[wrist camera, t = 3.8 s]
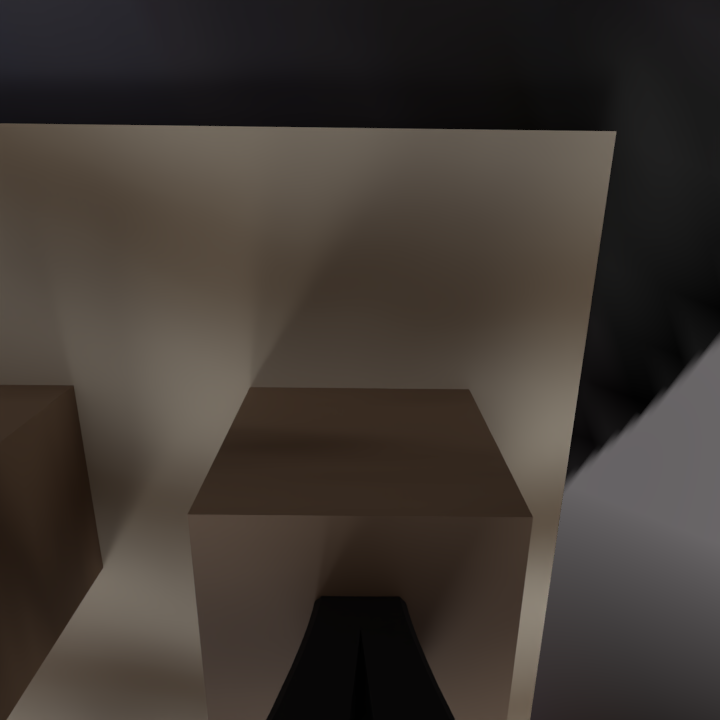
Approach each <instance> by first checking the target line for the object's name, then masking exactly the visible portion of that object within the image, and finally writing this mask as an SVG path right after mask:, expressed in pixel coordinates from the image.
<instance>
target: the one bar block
mask: <svg viewBox="0 0 720 720" xmlns="http://www.w3.org/2000/svg"><path fill="white" fill-rule="evenodd" d="M102 569H103V563H102V556H101V550H100V544H99V538H98V532H97V526H96V520H95V513H94V507H93V501H92V495H91V489H90V483H89V477H88V470H87V464H86V458H85V452H84V446H83V440H82V434H81V427H80V421H79V415H78V409H77V403H76V397H75V391H74V385H0V720H7V718H8V717H9V715H10V714H11V712H12V711H13V709H14V707H15V706H16V704H17V703H18V701H19V700H20V698H21V696H22V695H23V693H24V692H25V690H26V688H27V687H28V685H29V684H30V682H31V681H32V679H33V677H34V676H35V674H36V673H37V671H38V670H39V668H40V666H41V665H42V663H43V662H44V660H45V659H46V657H47V655H48V654H49V652H50V651H51V649H52V648H53V646H54V644H55V643H56V641H57V640H58V638H59V637H60V635H61V633H62V632H63V630H64V629H65V627H66V625H67V624H68V622H69V621H70V619H71V618H72V616H73V614H74V613H75V611H76V610H77V608H78V607H79V605H80V603H81V602H82V600H83V599H84V597H85V596H86V594H87V592H88V591H89V589H90V588H91V586H92V585H93V583H94V581H95V580H96V578H97V577H98V575H99V574H100V572H101V570H102Z"/></svg>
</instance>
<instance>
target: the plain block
mask: <svg viewBox="0 0 720 720" xmlns="http://www.w3.org/2000/svg"><path fill="white" fill-rule="evenodd" d="M187 515H188V525H189V535H190V545H191V555H192V565H193V575H194V585H195V594H196V604H197V614H198V624H199V634H200V644H201V654H202V664H203V674H204V684H205V694H206V704H207V714H208V720H266V719H267V717H268V715H269V713H270V711H271V709H272V707H273V705H274V702H275V700H276V698H277V696H278V694H279V692H280V690H281V688H282V685H283V683H284V681H285V679H286V677H287V675H288V673H289V670H290V668H291V666H292V664H293V661H294V659H295V656H296V654H297V652H298V649H299V647H300V644H301V642H302V639H303V637H304V634H305V631H306V628H307V626H308V623H309V620H310V616H311V613H312V610H313V606H314V602H315V601H316V600H317V599H319V598H320V597H321V596H400V597H401V598H402V599H403V600H404V601H405V602H406V605H407V608H408V611H409V615H410V618H411V621H412V624H413V626H414V629H415V632H416V635H417V637H418V640H419V642H420V645H421V647H422V650H423V652H424V654H425V657H426V659H427V661H428V664H429V666H430V668H431V671H432V673H433V675H434V677H435V679H436V681H437V684H438V686H439V688H440V690H441V692H442V694H443V696H444V698H445V700H446V702H447V704H448V706H449V708H450V710H451V712H452V714H453V716H454V718H455V720H507V716H508V709H509V701H510V693H511V685H512V678H513V670H514V662H515V654H516V646H517V639H518V631H519V623H520V615H521V608H522V600H523V592H524V584H525V577H526V569H527V561H528V553H529V546H530V538H531V530H532V522H533V516H532V514H531V512H530V510H529V508H528V506H527V504H526V502H525V500H524V498H523V496H522V494H521V492H520V490H519V488H518V486H517V484H516V482H515V480H514V478H513V476H512V474H511V472H510V470H509V468H508V466H507V464H506V462H505V460H504V458H503V456H502V454H501V452H500V450H499V448H498V446H497V444H496V442H495V440H494V438H493V436H492V434H491V432H490V430H489V428H488V426H487V424H486V422H485V420H484V418H483V416H482V414H481V412H480V410H479V408H478V406H477V404H476V402H475V400H474V398H473V396H472V394H471V392H470V390H469V389H388V388H286V387H250V388H249V390H248V392H247V394H246V396H245V398H244V400H243V402H242V404H241V406H240V408H239V410H238V412H237V414H236V416H235V419H234V421H233V423H232V425H231V427H230V429H229V431H228V433H227V435H226V437H225V439H224V441H223V443H222V445H221V447H220V449H219V451H218V453H217V455H216V457H215V459H214V461H213V463H212V465H211V467H210V470H209V472H208V474H207V476H206V478H205V480H204V482H203V484H202V486H201V488H200V490H199V492H198V494H197V496H196V498H195V500H194V502H193V504H192V506H191V508H190V510H189V512H188V514H187Z"/></svg>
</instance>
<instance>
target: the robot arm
mask: <svg viewBox="0 0 720 720" xmlns="http://www.w3.org/2000/svg"><path fill="white" fill-rule="evenodd" d="M266 720H455V718H454V716H453V714H452V712H451V710H450V708H449V706H448V704H447V702H446V700H445V698H444V696H443V694H442V692H441V690H440V688H439V686H438V684H437V681H436V679H435V677H434V675H433V673H432V671H431V668H430V666H429V664H428V661H427V659H426V657H425V654H424V652H423V650H422V647H421V645H420V642H419V640H418V637H417V635H416V632H415V629H414V626H413V624H412V621H411V618H410V615H409V611H408V608H407V605H406V602H405V601H404V600H403V599H402V598H401V597H400V596H321V597H320V598H319V599H317V600H316V601H315V602H314V606H313V610H312V613H311V616H310V620H309V623H308V626H307V628H306V631H305V634H304V637H303V639H302V642H301V644H300V647H299V649H298V652H297V654H296V656H295V659H294V661H293V664H292V666H291V668H290V670H289V673H288V675H287V677H286V679H285V681H284V683H283V685H282V688H281V690H280V692H279V694H278V696H277V698H276V700H275V702H274V705H273V707H272V709H271V711H270V713H269V715H268V717H267V719H266Z"/></svg>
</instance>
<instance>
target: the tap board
mask: <svg viewBox="0 0 720 720" xmlns="http://www.w3.org/2000/svg"><path fill="white" fill-rule="evenodd" d="M615 137H616V131H552V130H474V129H397V128H319V127H242V126H164V125H86V124H9V123H0V385H74V391H75V397H76V403H77V409H78V415H79V421H80V427H81V434H82V440H83V446H84V452H85V458H86V464H87V470H88V477H89V483H90V489H91V495H92V501H93V507H94V513H95V520H96V526H97V532H98V538H99V544H100V550H101V556H102V563H103V569H102V570H101V572H100V574H99V575H98V577H97V578H96V580H95V581H94V583H93V585H92V586H91V588H90V589H89V591H88V592H87V594H86V596H85V597H84V599H83V600H82V602H81V603H80V605H79V607H78V608H77V610H76V611H75V613H74V614H73V616H72V618H71V619H70V621H69V622H68V624H67V625H66V627H65V629H64V630H63V632H62V633H61V635H60V637H59V638H58V640H57V641H56V643H55V644H54V646H53V648H52V649H51V651H50V652H49V654H48V655H47V657H46V659H45V660H44V662H43V663H42V665H41V666H40V668H39V670H38V671H37V673H36V674H35V676H34V677H33V679H32V681H31V682H30V684H29V685H28V687H27V688H26V690H25V692H24V693H23V695H22V696H21V698H20V700H19V701H18V703H17V704H16V706H15V707H14V709H13V711H12V712H11V714H10V715H9V717H8V718H7V720H208V714H207V704H206V694H205V684H204V674H203V664H202V654H201V644H200V634H199V624H198V614H197V604H196V594H195V585H194V575H193V565H192V555H191V545H190V535H189V525H188V515H187V514H188V512H189V510H190V508H191V506H192V504H193V502H194V500H195V498H196V496H197V494H198V492H199V490H200V488H201V486H202V484H203V482H204V480H205V478H206V476H207V474H208V472H209V470H210V467H211V465H212V463H213V461H214V459H215V457H216V455H217V453H218V451H219V449H220V447H221V445H222V443H223V441H224V439H225V437H226V435H227V433H228V431H229V429H230V427H231V425H232V423H233V421H234V419H235V416H236V414H237V412H238V410H239V408H240V406H241V404H242V402H243V400H244V398H245V396H246V394H247V392H248V390H249V388H250V387H286V388H388V389H469V390H470V392H471V394H472V396H473V398H474V400H475V402H476V404H477V406H478V408H479V410H480V412H481V414H482V416H483V418H484V420H485V422H486V424H487V426H488V428H489V430H490V432H491V434H492V436H493V438H494V440H495V442H496V444H497V446H498V448H499V450H500V452H501V454H502V456H503V458H504V460H505V462H506V464H507V466H508V468H509V470H510V472H511V474H512V476H513V478H514V480H515V482H516V484H517V486H518V488H519V490H520V492H521V494H522V496H523V498H524V500H525V502H526V504H527V506H528V508H529V510H530V512H531V514H532V516H533V522H532V530H531V538H530V546H529V553H528V561H527V569H526V577H525V584H524V592H523V600H522V608H521V615H520V623H519V631H518V639H517V646H516V654H515V662H514V670H513V678H512V685H511V693H510V701H509V709H508V716H507V720H530V716H531V709H532V702H533V696H534V689H535V682H536V675H537V668H538V662H539V654H540V648H541V641H542V634H543V627H544V621H545V614H546V607H547V600H548V594H549V587H550V580H551V573H552V566H553V559H554V553H555V545H556V539H557V532H558V525H559V519H560V512H561V505H562V498H563V491H564V485H565V478H566V471H567V464H568V457H569V451H570V444H571V437H572V430H573V423H574V417H575V410H576V403H577V396H578V389H579V383H580V376H581V369H582V362H583V355H584V348H585V342H586V335H587V328H588V321H589V314H590V308H591V301H592V294H593V287H594V280H595V274H596V267H597V260H598V253H599V246H600V240H601V233H602V226H603V219H604V212H605V206H606V199H607V192H608V185H609V178H610V171H611V165H612V158H613V151H614V144H615Z"/></svg>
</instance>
